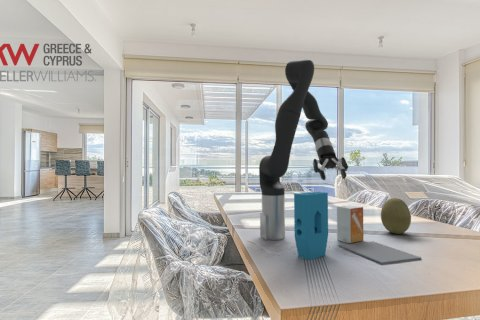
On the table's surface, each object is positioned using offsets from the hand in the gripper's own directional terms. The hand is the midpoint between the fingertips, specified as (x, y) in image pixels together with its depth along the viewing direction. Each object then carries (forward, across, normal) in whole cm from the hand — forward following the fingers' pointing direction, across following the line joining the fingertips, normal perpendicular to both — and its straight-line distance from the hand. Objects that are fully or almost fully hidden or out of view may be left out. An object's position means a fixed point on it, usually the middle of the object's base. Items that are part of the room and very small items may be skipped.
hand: (334, 178), depth 123 cm
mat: (+35, +3, -6) cm, 36 cm away
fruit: (+19, +25, +16) cm, 35 cm away
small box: (+25, +1, +6) cm, 26 cm away
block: (+35, -19, -8) cm, 41 cm away
